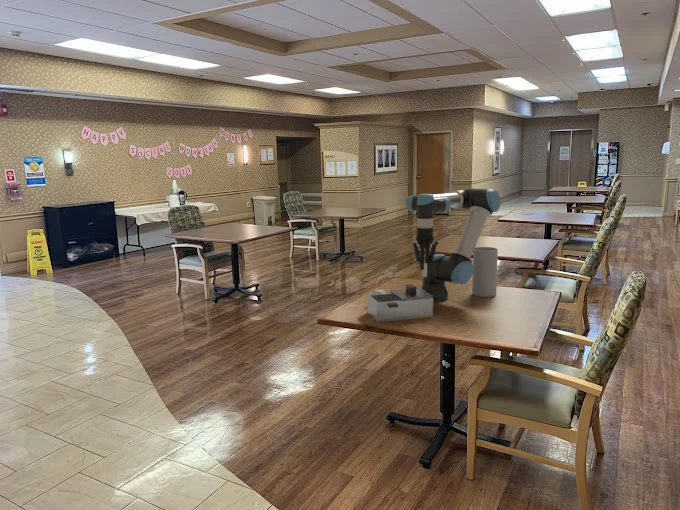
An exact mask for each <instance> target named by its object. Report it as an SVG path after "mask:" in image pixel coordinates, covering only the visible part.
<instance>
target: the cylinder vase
mask: <svg viewBox="0 0 680 510" xmlns="http://www.w3.org/2000/svg"><path fill="white" fill-rule="evenodd" d="M498 250H499V248H496V247H493V246H492V247H490V246H478V247H476V246H475V248H474V251H473V253H472V265H473V274H472V281H471V285H472V287H471V294H472V295H473V296H475V297H480V298H493V297H495V296H496V295H497V284H498V281H497V280H498Z"/></svg>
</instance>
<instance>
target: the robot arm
mask: <svg viewBox="0 0 680 510" xmlns="http://www.w3.org/2000/svg"><path fill="white" fill-rule="evenodd" d="M501 200H502V199H501V194H500V193H499V192H498V190H496V189H495V188H494V189H492V188H475V187H474V188H472V187H471V188H463V189H458V190H453V191H451V192H448V193H447V192H446V193H437V194H435V193H434V194H433V193H419V194H417V195H409V196H408V197H406V200H405V206H406V209H407V210H408V211H412V212H417V213H416V226H417V227H416V238H415V240H414V241H412V242H411V246H412V247H413V251H414V255H415V256H414V257H415V261H416V262H417V263H419V265H420V268H419V269H420V270H421V277H422V284H421V286H420V288H421V289H423V290H424V291H426V292H428V293H429V294H431V295H433V302H443V301H446V300H448V299H449V293H448V289H447V286H446V282H449V283H454V284H458V285H459V284H460V285H462V284H463V285H464V284H466V283H468V282H469V281H470V280H471V278H473V259H471V258H472V257H473V251H474V248H476V246H477V243H478V241H479V238H480V236H481V234H482V231H483V229H484V226H485V224H486V222H487V220H488V219H490V218H491V217H492V215H493V214H494V213H495V212H498V211H499V210H500V209H501V205H502V202H501ZM450 208H452V209H456V210H457V209H462V210H468V211H470V214H469V217H468V219H467V222H466V224H465V225H464V229H463V230H462V233H461V236H460V238H459V240H458V243H457V244H456V247H455V250H454V252H450V254H449V257H448V258H447V256H446V254H444V253H443V254H442V253H437V254H435V253H436V249H437V246H438V244H439V241H438V240H435V239H434V228H433V227H434V214H439V213H447V212H449V210H450ZM418 246H419V248H418Z"/></svg>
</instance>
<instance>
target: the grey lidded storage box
mask: <svg viewBox="0 0 680 510" xmlns="http://www.w3.org/2000/svg"><path fill="white" fill-rule="evenodd" d="M366 301H367V303H366V307H367V309H366V310H367V314H368V315H369V317H371V319H373V320H374V321H375V322H376V323H384V322H385V323H386V322H395V321H403V320H404V321H405V320H414V319H423V318H424V319H425V318H432V317H434V301H433V298H424V299H414V300H403V301H401V300H400V299H398V298H397V297H396V296H394V295H393V294H392V293H390V292H389V293H387V292H386V294H375V295H372V294H367V296H366Z"/></svg>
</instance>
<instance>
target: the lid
mask: <svg viewBox="0 0 680 510" xmlns="http://www.w3.org/2000/svg"><path fill="white" fill-rule="evenodd" d="M389 293H392V294H393V295H394V296H396V297H397V298H398V299H400V300H401V301H403V300H414V299H424V298H433V295H431V294H429V293H428V292H426V291H424V290H423V289H421V287H417V286H416V285H414V284H412V283H411V284H409V283H408V284H405V288H401V289H400V288H399V289H391V290H389Z"/></svg>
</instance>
